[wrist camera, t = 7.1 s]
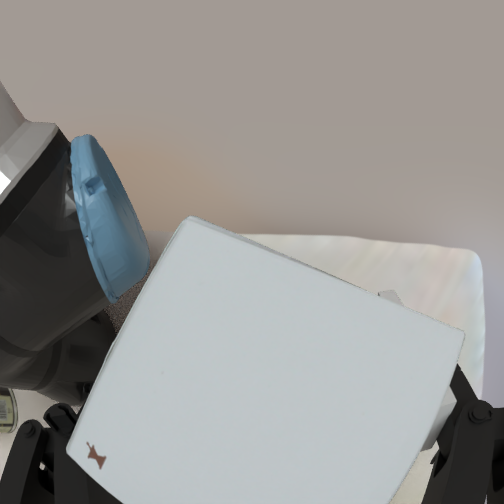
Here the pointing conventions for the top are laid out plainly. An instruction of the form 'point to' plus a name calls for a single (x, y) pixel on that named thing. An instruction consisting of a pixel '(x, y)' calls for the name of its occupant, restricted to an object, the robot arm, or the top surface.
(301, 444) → the supplement box
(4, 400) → the coffee can
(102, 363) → the robot arm
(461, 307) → the top surface
